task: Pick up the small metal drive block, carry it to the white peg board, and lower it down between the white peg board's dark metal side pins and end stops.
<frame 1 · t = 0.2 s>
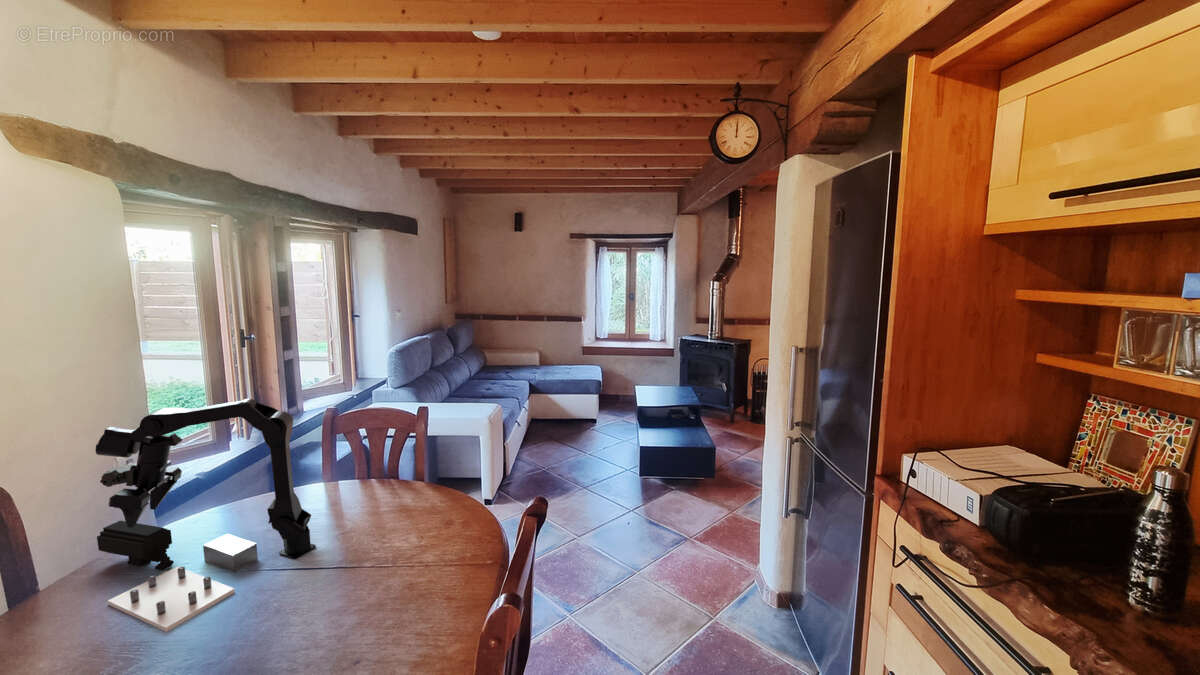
hand: (142, 517, 122), 15 cm above the table, tool pointing down, fingers open, 9 cm apart
white peg board: (172, 598, 115), on the table
security camera: (141, 564, 128), on the table
drive: (231, 561, 130), on the table
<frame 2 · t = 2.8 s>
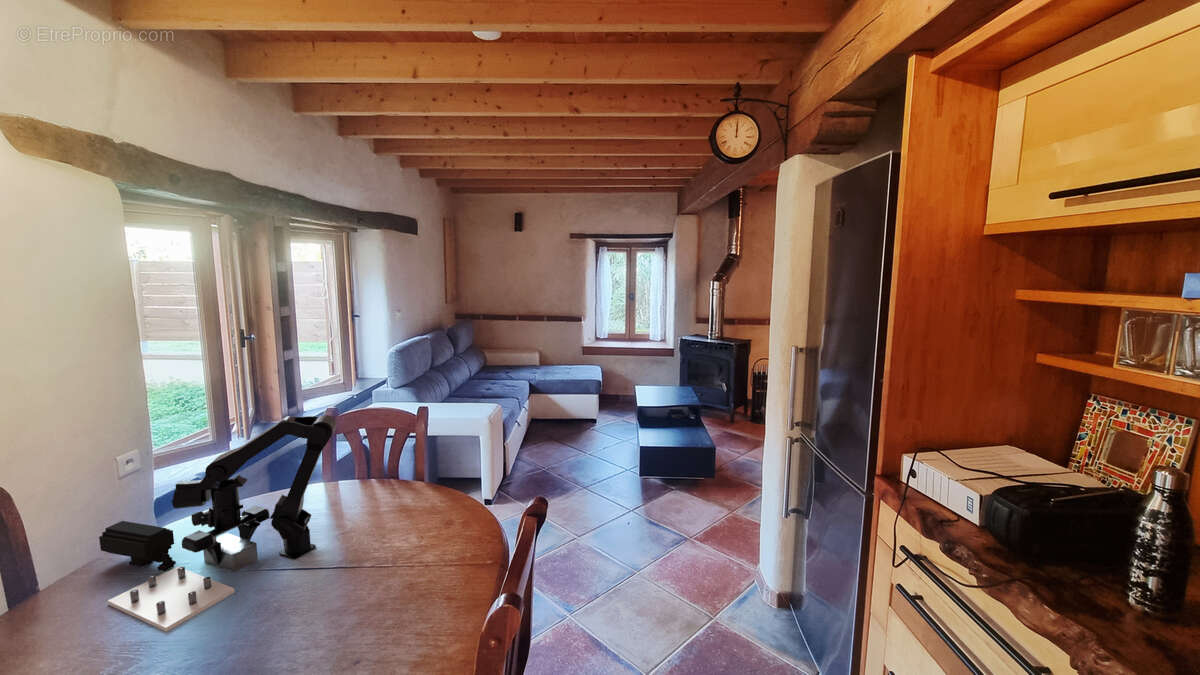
hand: (230, 556, 130), 1 cm above the table, tool pointing down, fingers closed on drive, 6 cm apart
drive: (231, 560, 130), on the table, touching gripper
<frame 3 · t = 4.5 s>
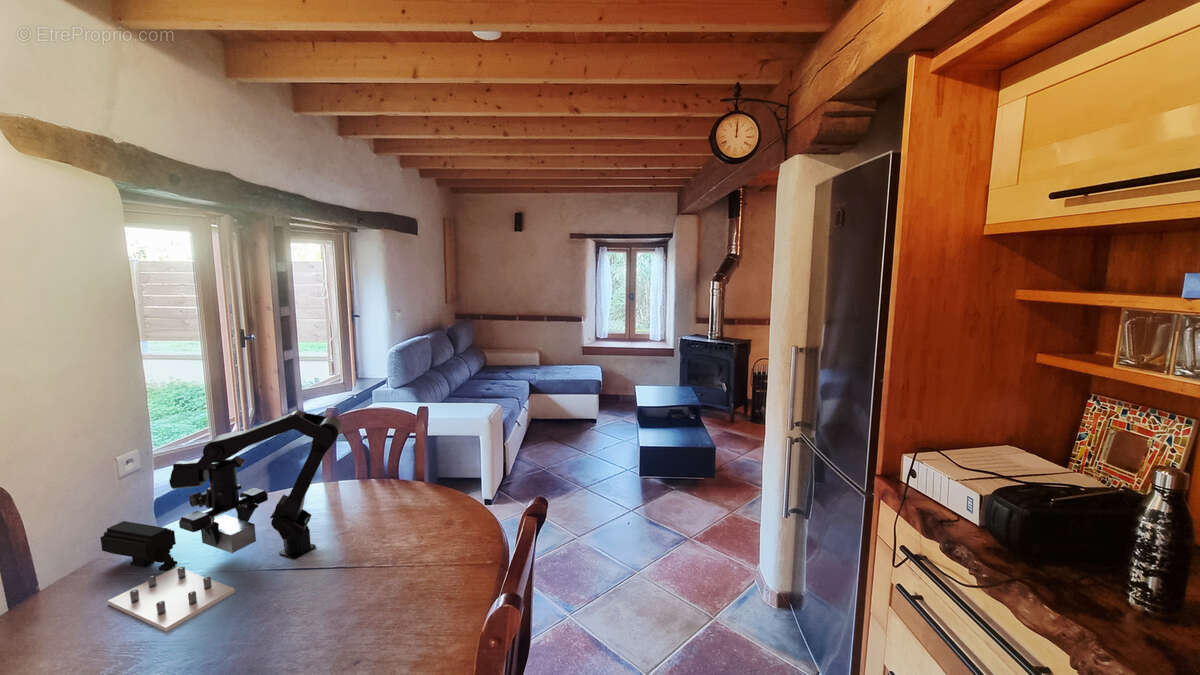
hand: (228, 538, 129), 6 cm above the table, tool pointing down, fingers closed on drive, 6 cm apart
drive: (229, 542, 129), point 5 cm above the table, touching gripper
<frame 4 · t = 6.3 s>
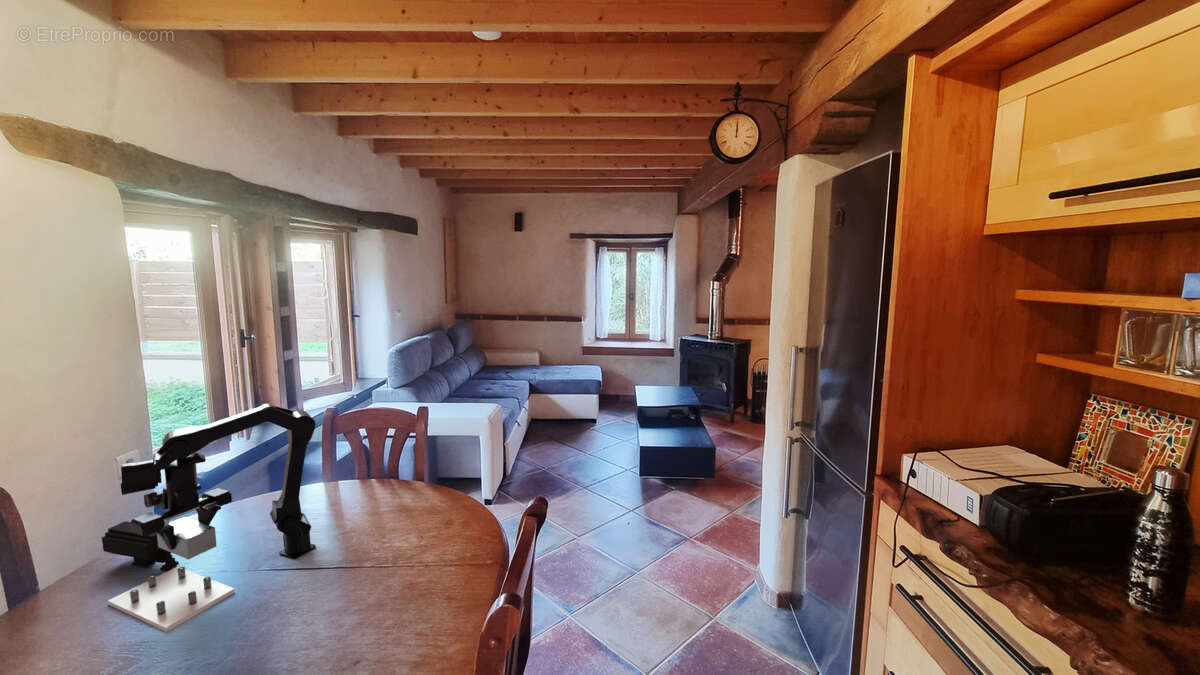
hand: (187, 542, 118), 11 cm above the table, tool pointing down, fingers closed on drive, 6 cm apart
drive: (187, 546, 118), point 10 cm above the table, touching gripper
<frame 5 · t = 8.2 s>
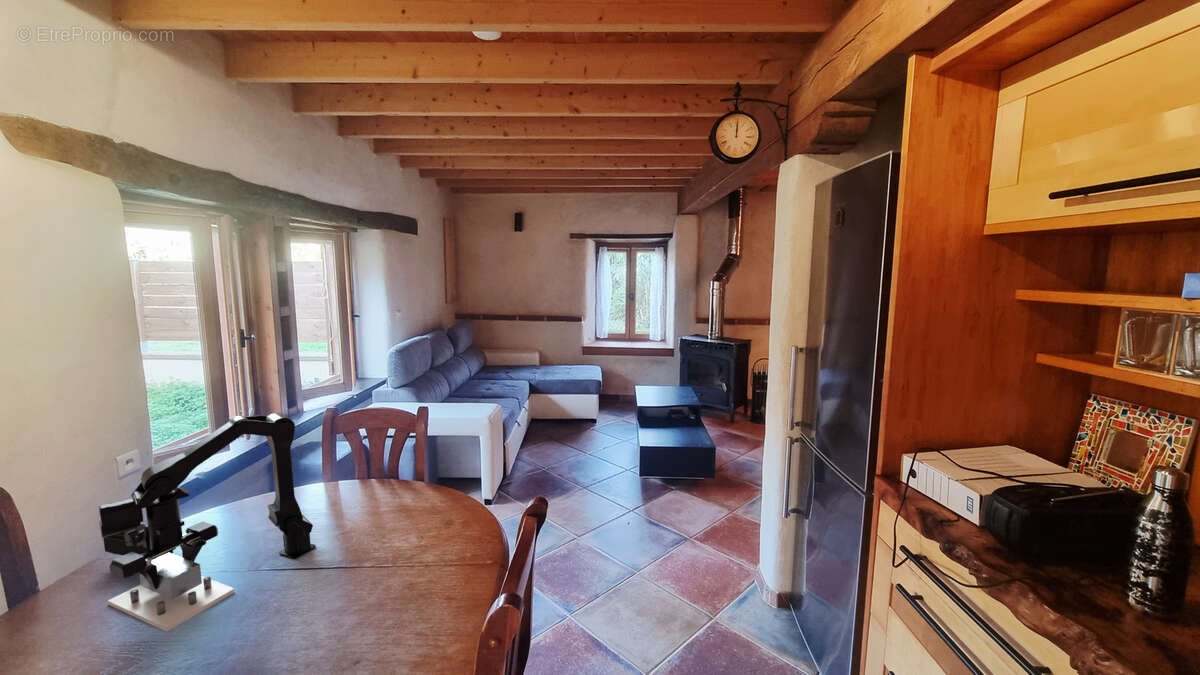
hand: (171, 580, 115), 5 cm above the table, tool pointing down, fingers closed on drive, 6 cm apart
drive: (171, 584, 115), point 4 cm above the table, touching gripper
when the fingers open (3 cm above the table, at t = 9.8 s): drive stays where it is, resting on white peg board.
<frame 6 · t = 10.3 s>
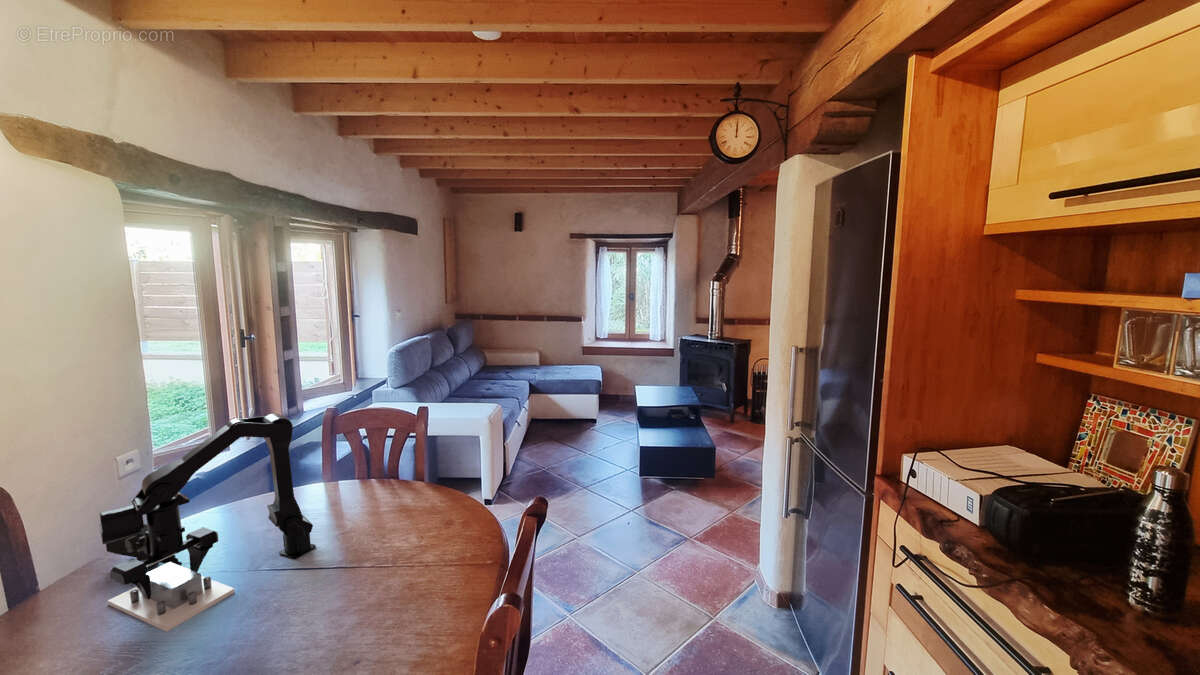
hand: (171, 586, 115), 3 cm above the table, tool pointing down, fingers open, 9 cm apart
security camera: (149, 565, 127), on the table, touching white peg board
drive: (172, 594, 115), point 1 cm above the table, touching white peg board
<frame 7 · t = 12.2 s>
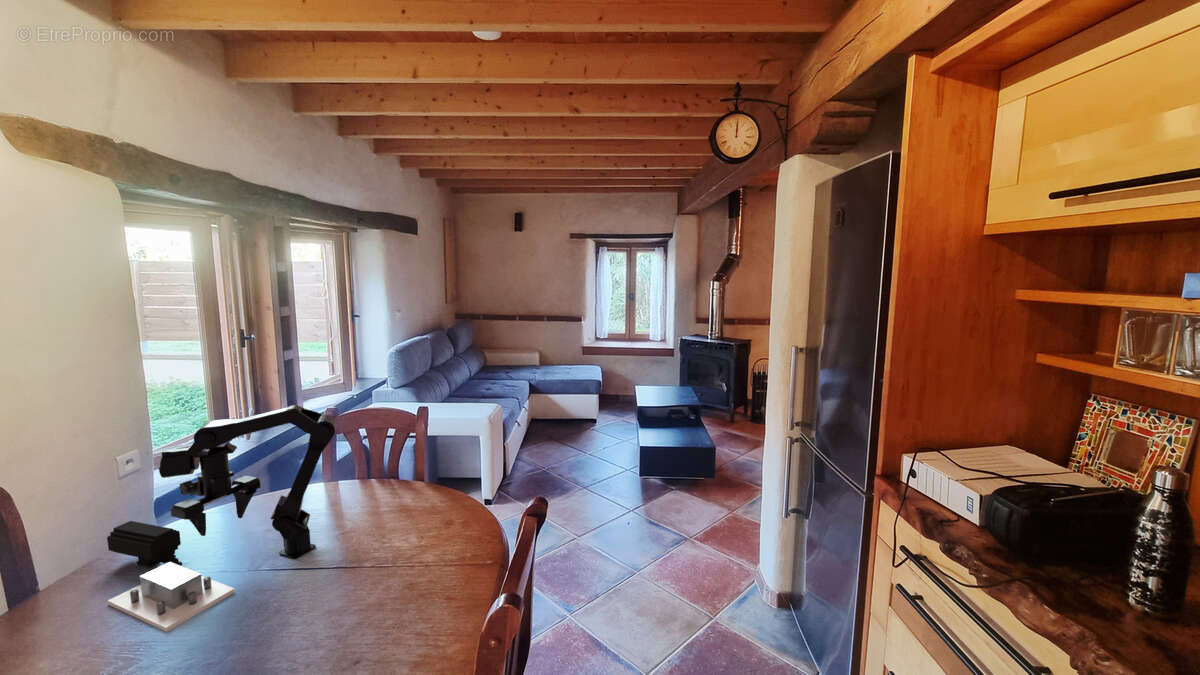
hand: (222, 526, 127), 11 cm above the table, tool pointing down, fingers open, 9 cm apart
nothing on the table moved.
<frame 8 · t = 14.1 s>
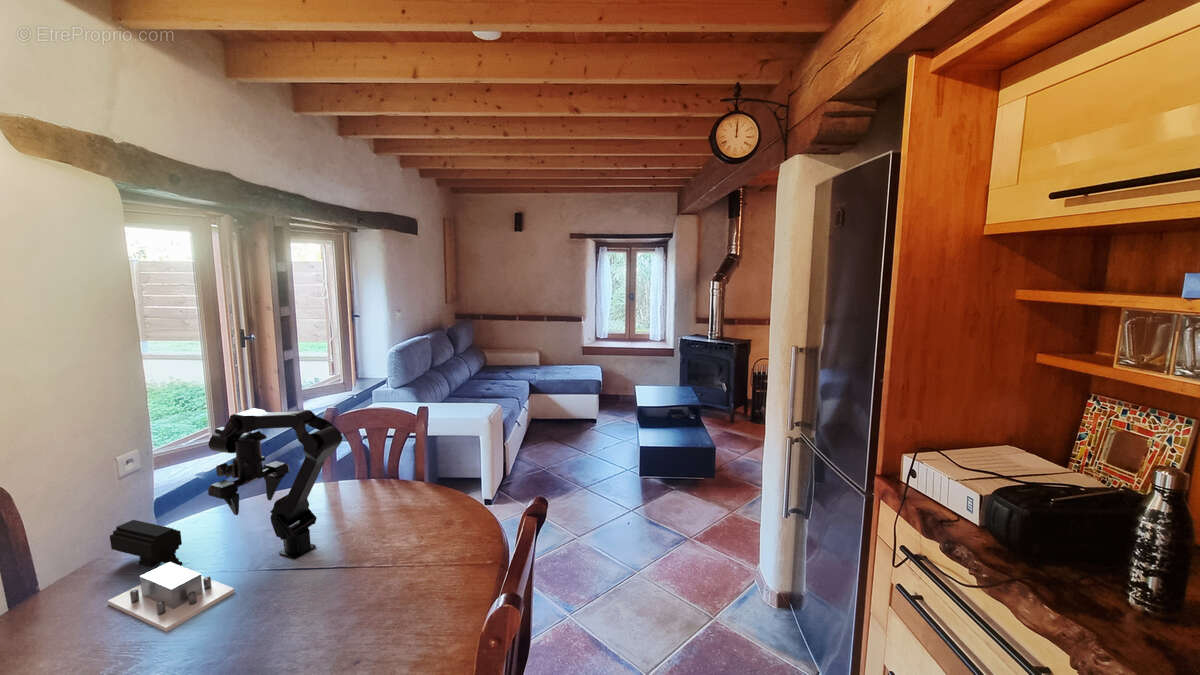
hand: (253, 507, 137), 11 cm above the table, tool pointing down, fingers open, 9 cm apart
security camera: (152, 564, 128), on the table
everything else where it was.
at the end: drive 0.1 cm off-centre on the white peg board, point 1.0 cm above the white peg board's base; drive tilted 0°; the gripper is holding nothing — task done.
